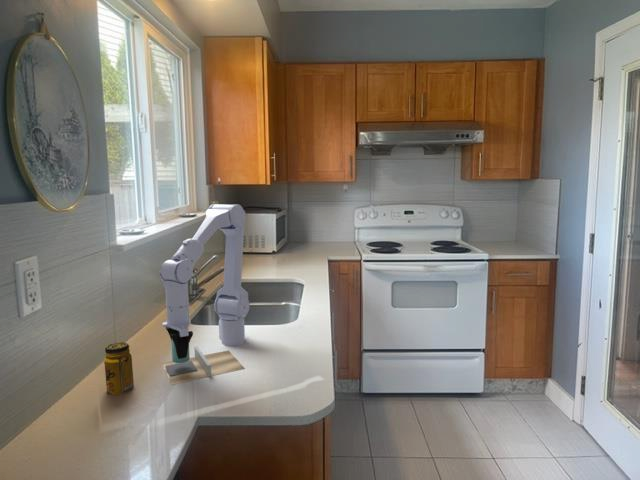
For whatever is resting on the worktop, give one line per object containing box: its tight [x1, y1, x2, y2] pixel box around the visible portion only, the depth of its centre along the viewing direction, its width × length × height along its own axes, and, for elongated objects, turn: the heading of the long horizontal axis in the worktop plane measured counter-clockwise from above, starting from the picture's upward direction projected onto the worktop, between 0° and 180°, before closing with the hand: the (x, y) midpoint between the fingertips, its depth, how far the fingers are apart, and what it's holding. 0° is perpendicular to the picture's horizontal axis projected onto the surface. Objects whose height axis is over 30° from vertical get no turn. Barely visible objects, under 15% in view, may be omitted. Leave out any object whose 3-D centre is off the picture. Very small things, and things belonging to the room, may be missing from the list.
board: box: [161, 349, 246, 386], centre depth 121 cm, size 15×19×1 cm
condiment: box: [103, 341, 135, 396], centre depth 108 cm, size 7×8×12 cm
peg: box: [171, 340, 191, 363], centre depth 118 cm, size 4×4×6 cm
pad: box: [165, 361, 197, 377], centre depth 119 cm, size 7×7×1 cm
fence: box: [194, 346, 212, 378], centre depth 121 cm, size 15×1×3 cm, turn 28°
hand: (180, 354), depth 118 cm, fingers closed on peg, 4 cm apart
